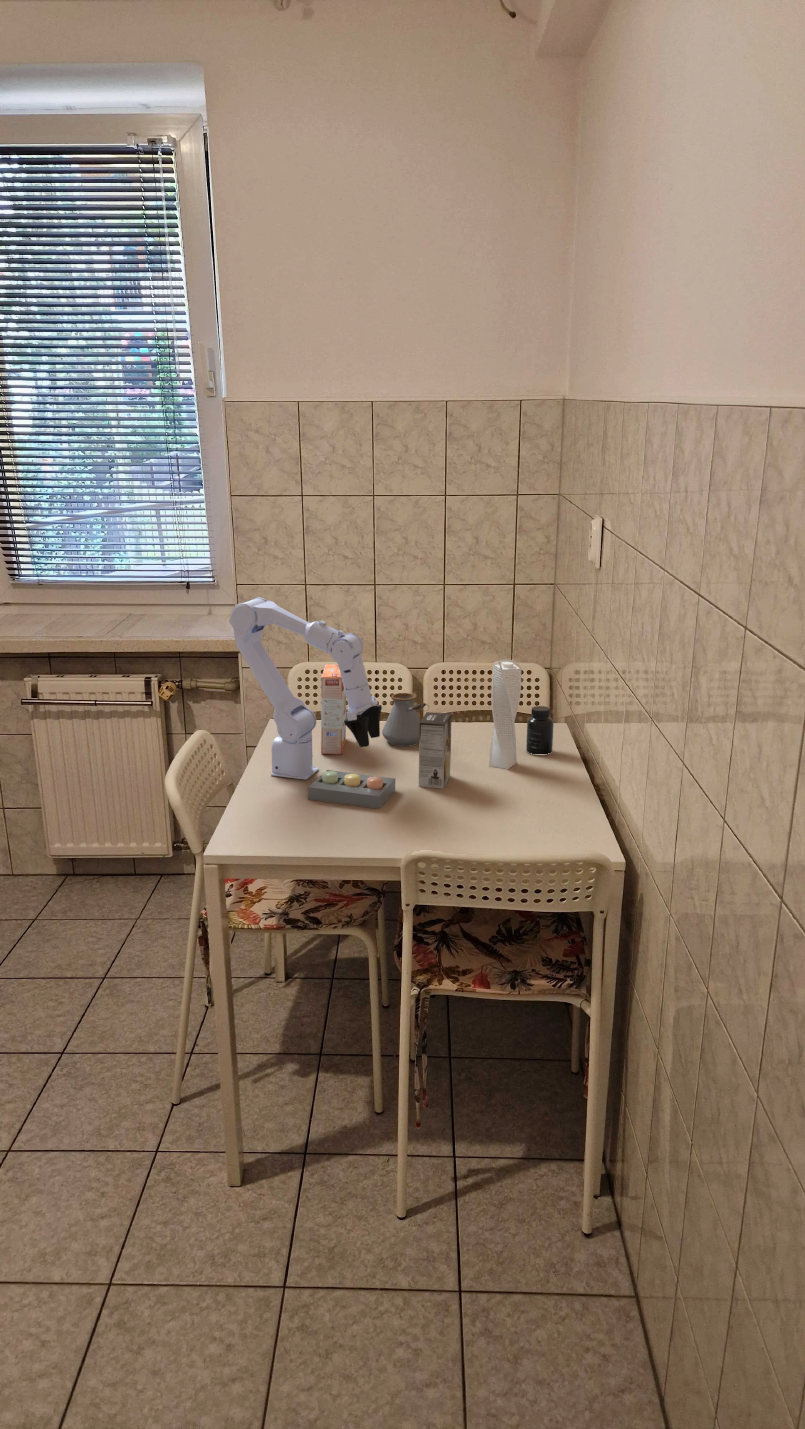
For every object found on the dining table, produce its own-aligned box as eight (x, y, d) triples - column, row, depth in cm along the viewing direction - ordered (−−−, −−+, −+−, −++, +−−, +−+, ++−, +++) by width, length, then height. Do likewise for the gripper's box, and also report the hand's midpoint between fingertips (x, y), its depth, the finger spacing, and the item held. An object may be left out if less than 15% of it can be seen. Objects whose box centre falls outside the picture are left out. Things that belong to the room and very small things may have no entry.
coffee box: (424, 773, 245) (426, 711, 240) (450, 775, 244) (452, 712, 239) (417, 786, 236) (419, 722, 232) (444, 789, 235) (446, 724, 230)
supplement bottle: (533, 746, 266) (536, 703, 263) (556, 751, 263) (559, 707, 259) (521, 752, 261) (523, 708, 258) (544, 758, 257) (546, 713, 254)
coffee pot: (376, 737, 271) (376, 684, 267) (415, 733, 275) (416, 681, 271) (403, 762, 252) (404, 705, 248) (445, 758, 256) (446, 702, 252)
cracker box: (343, 755, 257) (343, 677, 251) (320, 755, 257) (319, 676, 251) (347, 738, 270) (347, 663, 264) (325, 738, 270) (324, 663, 264)
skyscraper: (509, 772, 247) (514, 662, 239) (482, 766, 250) (486, 658, 242) (522, 763, 253) (527, 655, 245) (495, 757, 257) (500, 651, 249)
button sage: (319, 788, 231) (319, 775, 230) (325, 783, 234) (325, 770, 233) (334, 790, 230) (334, 777, 229) (340, 785, 233) (340, 772, 232)
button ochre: (342, 791, 229) (342, 778, 228) (347, 786, 233) (347, 773, 232) (357, 793, 228) (357, 780, 227) (362, 788, 232) (362, 774, 231)
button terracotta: (364, 794, 228) (364, 781, 227) (370, 789, 231) (370, 775, 230) (379, 796, 227) (379, 783, 226) (384, 791, 230) (384, 777, 229)
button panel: (308, 799, 228) (308, 787, 227) (327, 781, 239) (327, 770, 238) (378, 808, 223) (378, 796, 222) (395, 790, 234) (395, 778, 233)
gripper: (361, 691, 224) (375, 748, 227) (382, 676, 237) (395, 730, 240) (333, 695, 226) (347, 752, 229) (355, 681, 240) (368, 734, 242)
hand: (370, 741), depth 235 cm, fingers open, 7 cm apart
